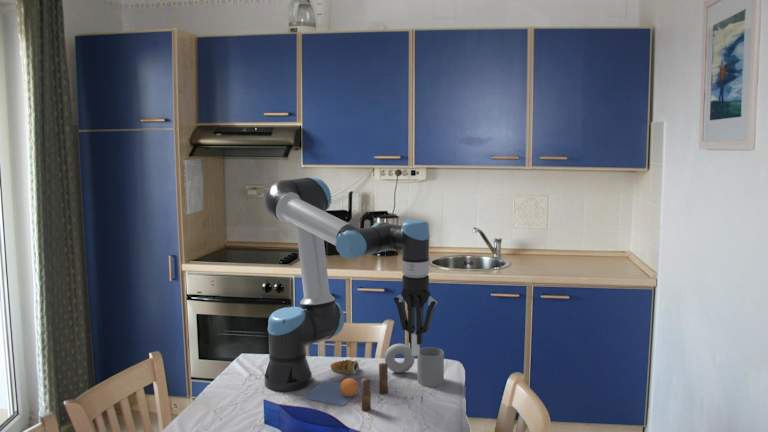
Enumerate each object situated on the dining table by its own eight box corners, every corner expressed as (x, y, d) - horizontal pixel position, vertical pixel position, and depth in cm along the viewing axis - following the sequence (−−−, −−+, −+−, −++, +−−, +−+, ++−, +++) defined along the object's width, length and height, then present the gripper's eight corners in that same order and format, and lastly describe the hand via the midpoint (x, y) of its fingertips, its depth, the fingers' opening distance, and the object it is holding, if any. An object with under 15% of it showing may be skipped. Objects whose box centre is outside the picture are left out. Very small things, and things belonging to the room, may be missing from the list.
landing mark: (302, 398, 201) (302, 397, 201) (324, 381, 213) (324, 380, 213) (343, 405, 195) (343, 405, 195) (363, 388, 208) (363, 387, 208)
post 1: (360, 410, 192) (359, 380, 191) (364, 406, 195) (363, 377, 193) (368, 411, 191) (368, 382, 190) (372, 408, 194) (371, 378, 192)
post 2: (377, 393, 204) (377, 365, 202) (381, 390, 206) (381, 362, 205) (385, 394, 203) (385, 366, 201) (389, 391, 205) (388, 363, 204)
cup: (441, 387, 208) (442, 357, 206) (415, 385, 209) (415, 355, 208) (444, 377, 216) (445, 348, 214) (419, 375, 218) (419, 346, 216)
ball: (356, 395, 198) (342, 402, 200) (364, 388, 203) (350, 395, 205) (347, 379, 198) (333, 386, 200) (355, 372, 203) (341, 379, 205)
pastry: (327, 373, 221) (327, 362, 220) (334, 365, 227) (334, 355, 227) (353, 376, 218) (353, 365, 218) (360, 368, 225) (360, 358, 224)
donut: (414, 370, 222) (414, 342, 220) (414, 374, 218) (414, 345, 217) (384, 370, 222) (384, 341, 221) (384, 374, 219) (384, 345, 217)
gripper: (389, 275, 187) (389, 355, 190) (433, 279, 182) (432, 362, 185) (399, 269, 194) (399, 347, 197) (441, 273, 188) (441, 353, 192)
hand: (415, 354), depth 191 cm, fingers closed
